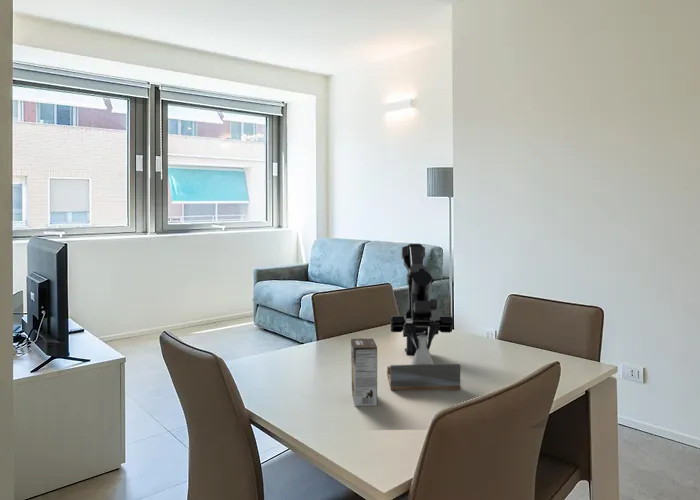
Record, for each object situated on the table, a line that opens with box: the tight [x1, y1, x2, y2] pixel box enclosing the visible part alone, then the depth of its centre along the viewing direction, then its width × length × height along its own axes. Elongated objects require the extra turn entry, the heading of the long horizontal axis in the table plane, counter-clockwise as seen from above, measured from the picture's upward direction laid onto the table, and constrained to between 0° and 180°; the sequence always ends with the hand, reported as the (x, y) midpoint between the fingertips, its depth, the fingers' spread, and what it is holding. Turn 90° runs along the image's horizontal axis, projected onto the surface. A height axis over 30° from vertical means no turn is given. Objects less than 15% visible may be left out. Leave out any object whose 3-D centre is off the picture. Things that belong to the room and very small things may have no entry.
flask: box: [410, 335, 434, 365], centre depth 156 cm, size 7×7×10 cm
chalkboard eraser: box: [386, 363, 461, 391], centre depth 157 cm, size 14×20×7 cm
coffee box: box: [350, 338, 378, 407], centre depth 143 cm, size 9×6×16 cm
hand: (423, 348), depth 154 cm, fingers closed on flask, 3 cm apart
